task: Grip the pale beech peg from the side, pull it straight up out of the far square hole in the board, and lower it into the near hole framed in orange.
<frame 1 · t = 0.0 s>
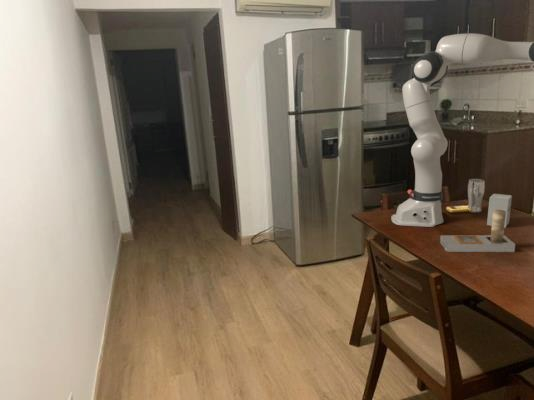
beer glass: (474, 211, 188), on the table
peg: (495, 247, 146), resting in board
board: (481, 247, 147), on the table
supplement box: (497, 224, 169), on the table
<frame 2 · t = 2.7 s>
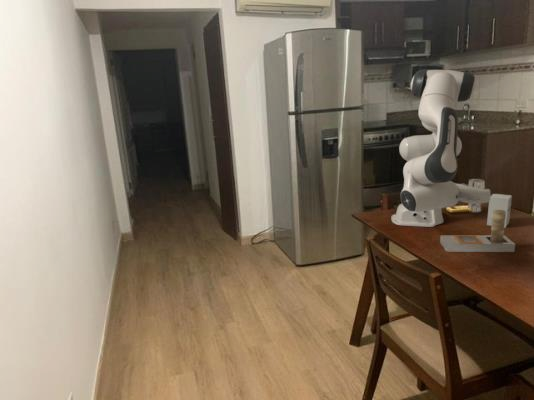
hand: (476, 188, 136), 24 cm above the table, tool horizontal, fingers open, 8 cm apart
nothing on the table moved.
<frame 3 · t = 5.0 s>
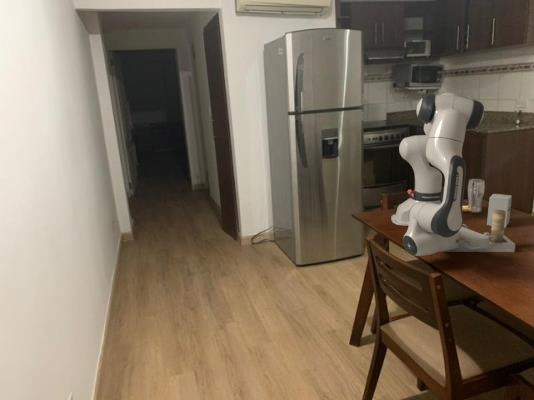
hand: (476, 230, 141), 8 cm above the table, tool horizontal, fingers open, 8 cm apart
nothing on the table moved.
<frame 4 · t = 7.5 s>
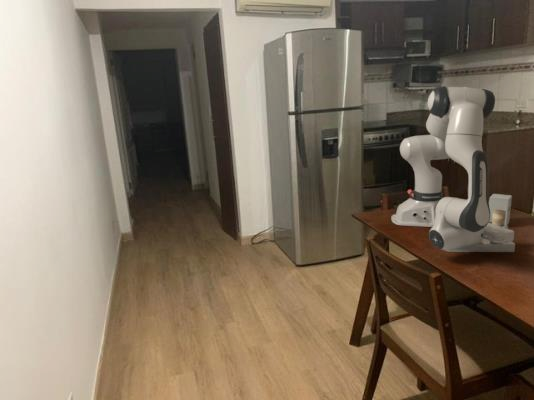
hand: (499, 225, 144), 8 cm above the table, tool horizontal, fingers closed on peg, 4 cm apart
peg: (495, 247, 146), resting in board, touching gripper
everything else where it was.
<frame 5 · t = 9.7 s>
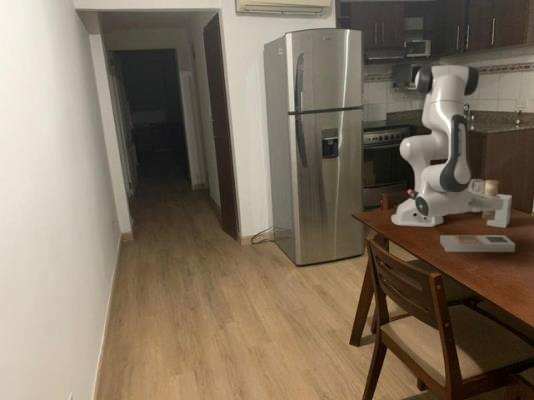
hand: (492, 195, 141), 20 cm above the table, tool horizontal, fingers closed on peg, 4 cm apart
peg: (488, 218, 143), point 11 cm above the table, touching gripper
everything else where it was.
when the fingers open (10 cm above the table, at t = 12.2 s): peg drops 1 cm, resting in board.
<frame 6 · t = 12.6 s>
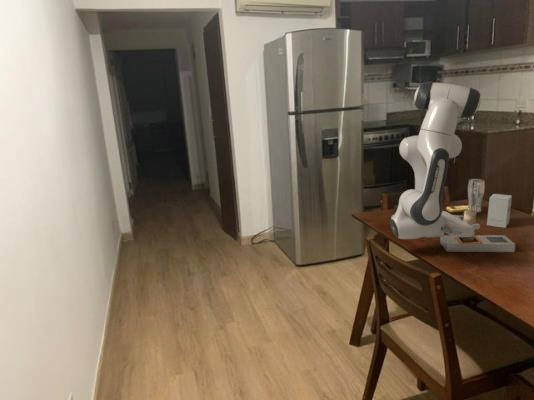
hand: (471, 222, 145), 10 cm above the table, tool horizontal, fingers open, 8 cm apart
peg: (467, 247, 147), resting in board
everything else where it was.
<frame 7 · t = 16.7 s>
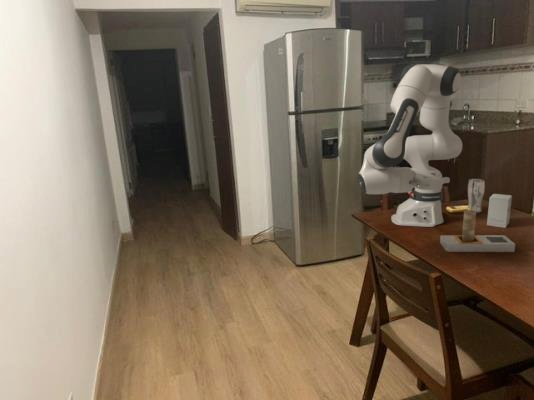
hand: (441, 177, 139), 28 cm above the table, tool horizontal, fingers open, 8 cm apart
nothing on the table moved.
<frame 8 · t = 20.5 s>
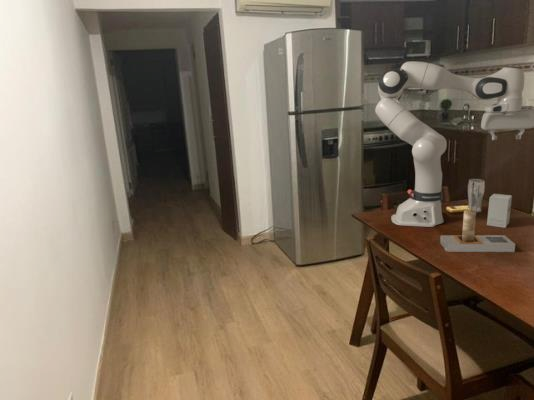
hand: (506, 139, 168), 35 cm above the table, tool pointing down, fingers open, 8 cm apart
nothing on the table moved.
at the end: peg 0.0 cm from the target spot, resting in board; peg tilted 0°; the gripper is holding nothing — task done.
